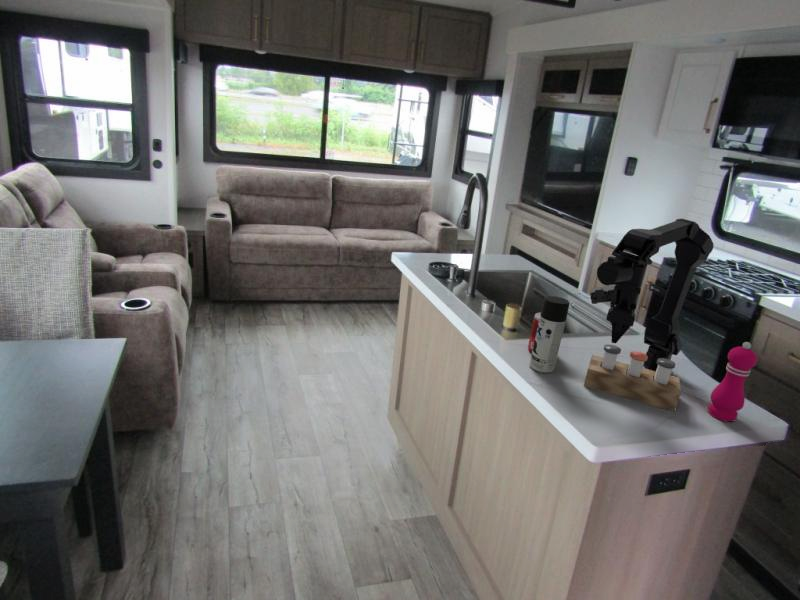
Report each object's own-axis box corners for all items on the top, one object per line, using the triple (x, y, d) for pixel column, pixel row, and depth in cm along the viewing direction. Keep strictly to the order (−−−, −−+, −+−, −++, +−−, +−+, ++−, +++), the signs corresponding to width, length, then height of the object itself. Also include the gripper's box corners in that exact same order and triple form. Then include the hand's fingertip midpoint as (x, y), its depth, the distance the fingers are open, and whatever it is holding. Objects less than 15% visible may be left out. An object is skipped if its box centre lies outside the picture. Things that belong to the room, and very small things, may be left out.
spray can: (527, 361, 155) (541, 293, 148) (551, 363, 155) (566, 296, 148) (531, 372, 149) (546, 302, 142) (556, 375, 149) (573, 305, 142)
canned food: (555, 360, 157) (564, 324, 154) (527, 354, 159) (535, 319, 155) (554, 349, 165) (562, 315, 161) (527, 344, 166) (534, 310, 162)
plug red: (641, 377, 145) (648, 354, 143) (640, 383, 141) (647, 360, 139) (624, 372, 146) (630, 349, 144) (623, 379, 143) (630, 355, 140)
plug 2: (667, 384, 143) (675, 361, 140) (668, 391, 139) (675, 367, 137) (650, 379, 144) (657, 356, 142) (650, 386, 140) (657, 362, 138)
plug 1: (615, 370, 147) (621, 347, 145) (614, 376, 143) (620, 352, 141) (598, 365, 149) (604, 342, 146) (597, 371, 145) (603, 348, 143)
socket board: (673, 394, 145) (679, 377, 144) (674, 411, 137) (680, 394, 135) (587, 370, 153) (592, 354, 151) (583, 385, 144) (588, 368, 143)
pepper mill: (724, 424, 133) (752, 350, 126) (699, 409, 140) (724, 336, 133) (744, 421, 136) (772, 347, 129) (718, 405, 142) (744, 334, 136)
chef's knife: (718, 411, 141) (724, 408, 143) (719, 407, 140) (725, 404, 142) (649, 377, 155) (655, 374, 157) (650, 373, 155) (656, 371, 156)
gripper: (600, 265, 148) (586, 319, 154) (592, 283, 132) (578, 342, 138) (644, 275, 145) (629, 329, 150) (641, 294, 128) (625, 354, 134)
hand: (614, 338), depth 143 cm, fingers open, 6 cm apart
